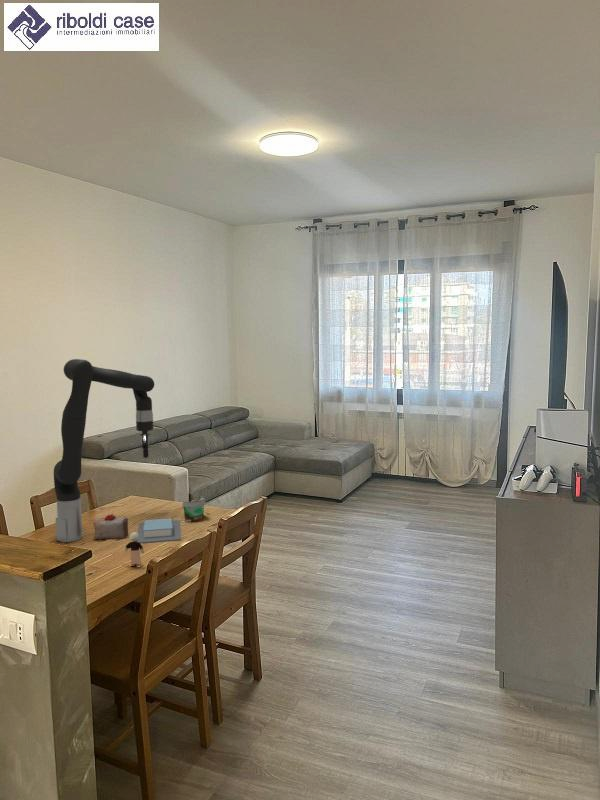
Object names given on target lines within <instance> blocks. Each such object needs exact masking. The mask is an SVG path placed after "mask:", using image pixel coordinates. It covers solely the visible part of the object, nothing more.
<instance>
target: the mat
mask: <svg viewBox="0 0 600 800" xmlns="http://www.w3.org/2000/svg"><path fill="white" fill-rule="evenodd" d="M143 529H144V522H139V523H138V528H137V533H138V535H139V536H138V540H137V541H136V542H139V543H140V544H141V543H142V544H151V543H152V544H153V543H162V542H163V543H165V542H167V543H168V542H176V541H182V532H181V531H182V530H181V520H180V519H177V520H173V536H171V537H158V538H145V539H144V531H143ZM142 544H141V545H142Z"/></svg>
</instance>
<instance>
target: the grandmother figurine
mask: <svg viewBox="0 0 600 800" xmlns="http://www.w3.org/2000/svg"><path fill="white" fill-rule="evenodd" d="M138 536H139V535H138V531H137V532H136V531H134V532H132V533H131V534H130V535H129V537H128V539H129V540H131V541H130V542H129V543H126V545H125V549H124V551H125V552H128V550H130V563H131V565H130V567H131V566H135V565H136V566H141V567H143V566H144V564H143V563H142V559H141V558H142V557H141V554H145V551H144V547H143V544H140V543H139V542H136V541H137V540H138ZM142 565H143V566H142ZM136 566H135V567H136Z"/></svg>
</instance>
